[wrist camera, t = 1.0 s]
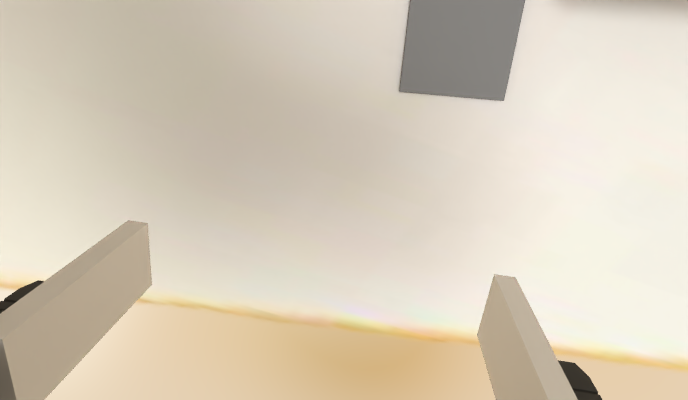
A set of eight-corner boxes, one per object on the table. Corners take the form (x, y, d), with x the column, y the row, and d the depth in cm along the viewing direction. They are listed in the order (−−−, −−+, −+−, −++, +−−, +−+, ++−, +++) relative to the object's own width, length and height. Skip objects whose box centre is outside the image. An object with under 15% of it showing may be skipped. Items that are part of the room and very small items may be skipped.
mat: (413, -23, 35) (413, -24, 34) (526, -15, 34) (528, -15, 34) (399, 90, 38) (399, 91, 38) (502, 99, 38) (503, 100, 37)
